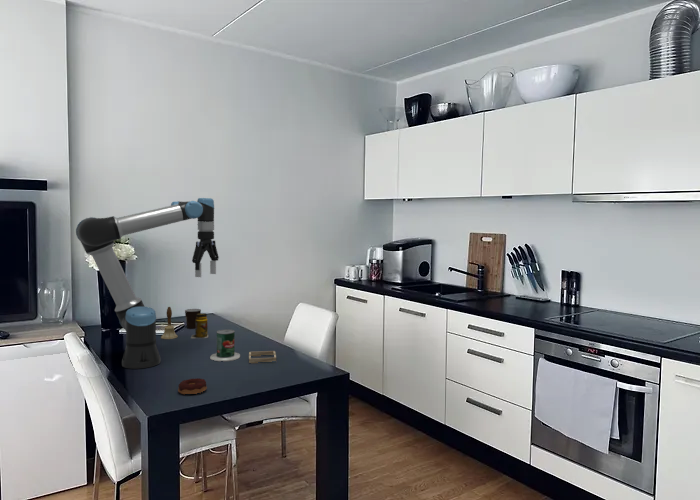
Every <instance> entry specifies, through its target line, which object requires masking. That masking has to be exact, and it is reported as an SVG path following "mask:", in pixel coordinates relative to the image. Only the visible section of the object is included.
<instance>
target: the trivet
mask: <svg viewBox="0 0 700 500" xmlns="http://www.w3.org/2000/svg"><path fill="white" fill-rule="evenodd" d="M234 354H235V355H234V356H233V357H230V358H218V357H217V352H215V353H212V354H211V355H210V356H209V358H210V360H212V361H213V360H214V362H221V361H223V362H232V361H236V360H238V359H240V358H241V354H240V353H239V352H235V353H234Z"/></svg>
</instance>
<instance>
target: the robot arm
mask: <svg viewBox="0 0 700 500" xmlns="http://www.w3.org/2000/svg"><path fill="white" fill-rule="evenodd" d="M214 201H215V200H214V198H211V197H210V198H208V197H207V198H206V197H198V198H197V200H196V201H195V200H191V201H190V200H189V201H180V200H179V201H178V200H177V201H172V202H171V204H170V205H168V206H164V207H158V208H155V209H150V210H146V211H141V212H138V213H133V214H129V215H126V216H125V215H124V216H119V217H116V216H109V217H108V216H107V217H100V218H99V217H93V216H92V217H91V216H90V217H86V218H84V219H82V220H81V221H80V222H79V223H78V224H77V226H76V229H75V233H76V238H77V239H78V240H79V241H80V243H81V245H82V247H83V249H84V251H85V253H86V254H87V255H89V256H91V257H92V259H93V261H94V262H95V265H96V267H97V268H98V271H99V273H100V275H101V277H102V279H103V282H104V283H105V285H106V287H107V290H109V291H108V292H109V293H110V296H111V297H112V299H113V301H114V303H115V308H114V312H115V314H116V316H117V318H118V321H119V322H118V323H119V324H120V327H121V328H122V329H123V330H125V349H124V350H125V351H124V352H123V355H122V359H121V366H122V367H123V368H126V369H132V370H133V369H135V370H137V369H145V368H146V369H147V368H152V367H154V366H158V365H159V364H161V355H160V352H159V349H158V346H157V322H156V321H157V314H156V310H155V309H154V308H152V307H148V306H145V303H143V300H142V298H140V297H137V296H136V294H135V292H134V289H133V287H132V286H131V284H130V281H129V280H128V277H127V275H126V274H125V271H124V269H123V267H122V264H121V263H120V260H119V259H118V256H117V254H116V252H115V250H114V245H115V241H117V240H121V239H122V237H123V236H128V235H131V234H135V233H138V232H140V233H141V232H143V231H147V230H152V229H155V228H159V227H163V226H167V225H171V224H175V223H179V222H184V221H187V220H188V221H189V220H193V219H194V220H195V219H197V230H198V231H197V239H198V240H199V241H196V242H195V248H194V252H193V256H192V260H191V262H192V263H193V264H195V265H194V266H195V268H194V270H195V271H194V277H195V278H202V263H201V261H202V259H203V257H204V255H205V252H207V254H208V255H209V258H210V260H209V262H210V263H209V264H210V265H209V268H210V269H209V270H210V271H209V274H210V275H217V261H219V259H220V256H219V254H218V248H217V245H216V240H214V239H215V232H214V231H215V202H214Z"/></svg>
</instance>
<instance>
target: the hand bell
mask: <svg viewBox="0 0 700 500" xmlns="http://www.w3.org/2000/svg"><path fill="white" fill-rule="evenodd" d="M172 316H173V311H172V308H171V306H167V309H166V318H167V326H165V327H164V331H163V334H162V335H161V336H160V339H162V340H174V339H178V335H177V333H176V332H175V327H174V326H173V325H172Z"/></svg>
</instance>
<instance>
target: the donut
mask: <svg viewBox="0 0 700 500" xmlns="http://www.w3.org/2000/svg"><path fill="white" fill-rule="evenodd" d="M207 386H208V385H207V381H206V380H205V379H204V378H190V379H184V380H182V381H181V382H180V383H179V384H178V389H177V391H178V393H180V394H182V395H185V394H196V395H198V394H197V393H200V394H201V392H202V393H204V392H205V391H206V390H207V389H208V387H207ZM203 391H204V392H203Z"/></svg>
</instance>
